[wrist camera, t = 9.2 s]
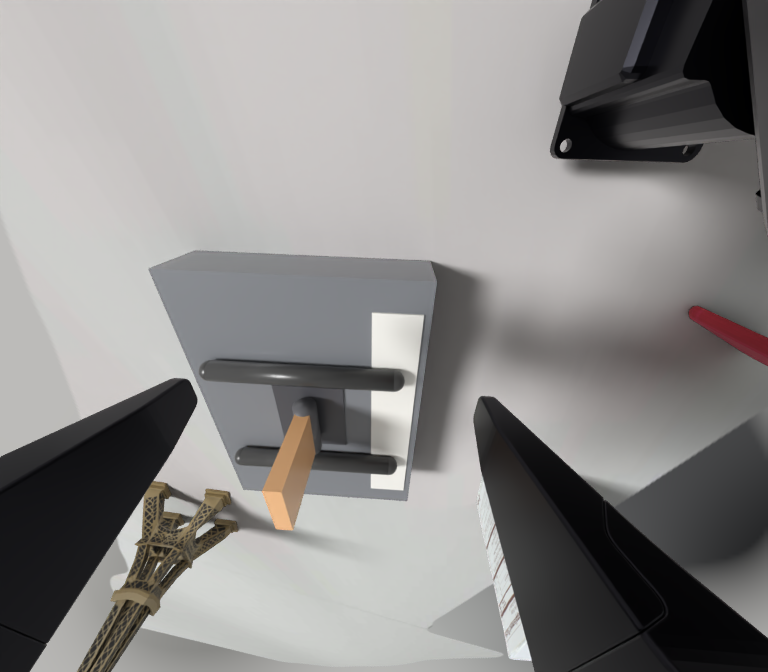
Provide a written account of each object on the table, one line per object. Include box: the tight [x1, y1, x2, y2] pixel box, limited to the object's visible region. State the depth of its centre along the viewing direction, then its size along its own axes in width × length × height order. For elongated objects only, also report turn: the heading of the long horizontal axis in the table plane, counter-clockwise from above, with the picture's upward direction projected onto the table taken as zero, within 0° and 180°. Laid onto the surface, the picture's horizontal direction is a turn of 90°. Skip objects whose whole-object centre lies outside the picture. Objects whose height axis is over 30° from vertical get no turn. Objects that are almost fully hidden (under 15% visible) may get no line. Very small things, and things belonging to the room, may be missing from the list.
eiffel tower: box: [77, 481, 238, 672], centre depth 27 cm, size 10×11×25 cm
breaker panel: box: [149, 251, 437, 501], centre depth 22 cm, size 16×22×5 cm
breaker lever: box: [262, 397, 322, 530], centre depth 18 cm, size 2×4×6 cm, turn 179°
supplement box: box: [477, 476, 532, 661], centre depth 25 cm, size 7×7×13 cm
